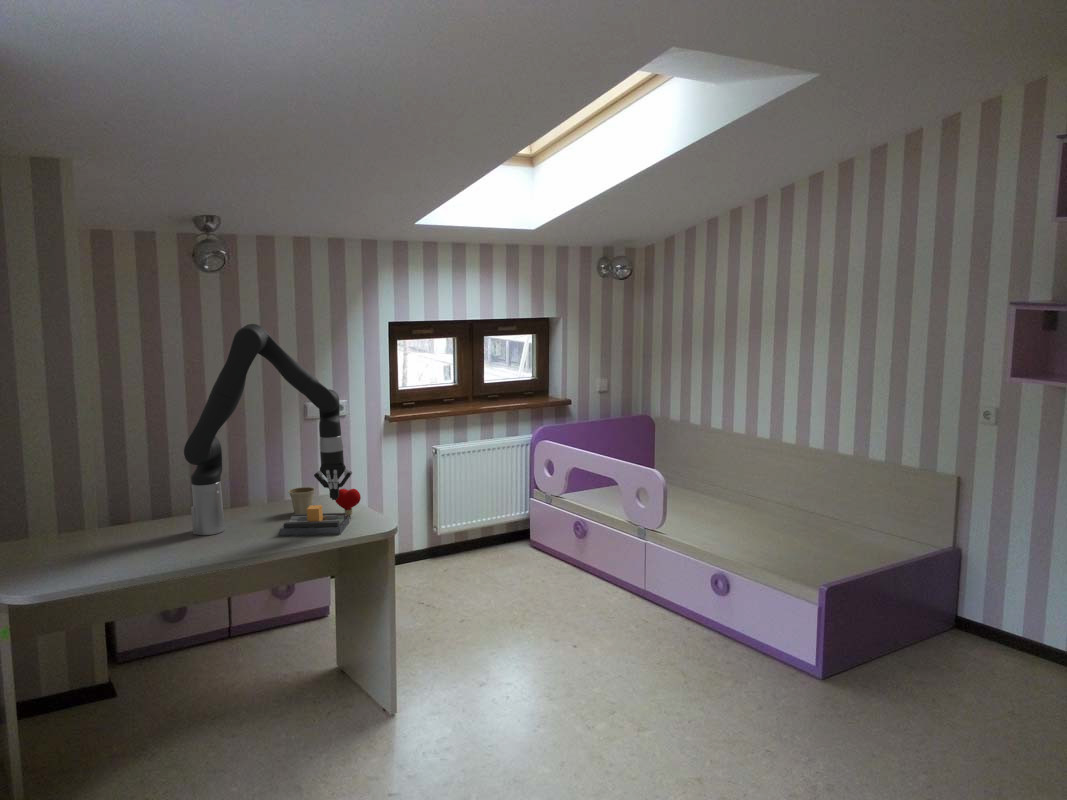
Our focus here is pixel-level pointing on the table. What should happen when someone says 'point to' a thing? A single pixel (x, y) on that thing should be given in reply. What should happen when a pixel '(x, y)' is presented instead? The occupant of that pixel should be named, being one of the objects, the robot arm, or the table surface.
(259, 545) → the table surface
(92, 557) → the table surface
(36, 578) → the table surface
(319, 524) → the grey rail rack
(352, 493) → the red heart figurine
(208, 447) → the robot arm
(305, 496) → the flower pot
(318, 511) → the tan cardboard cube
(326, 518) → the panel
